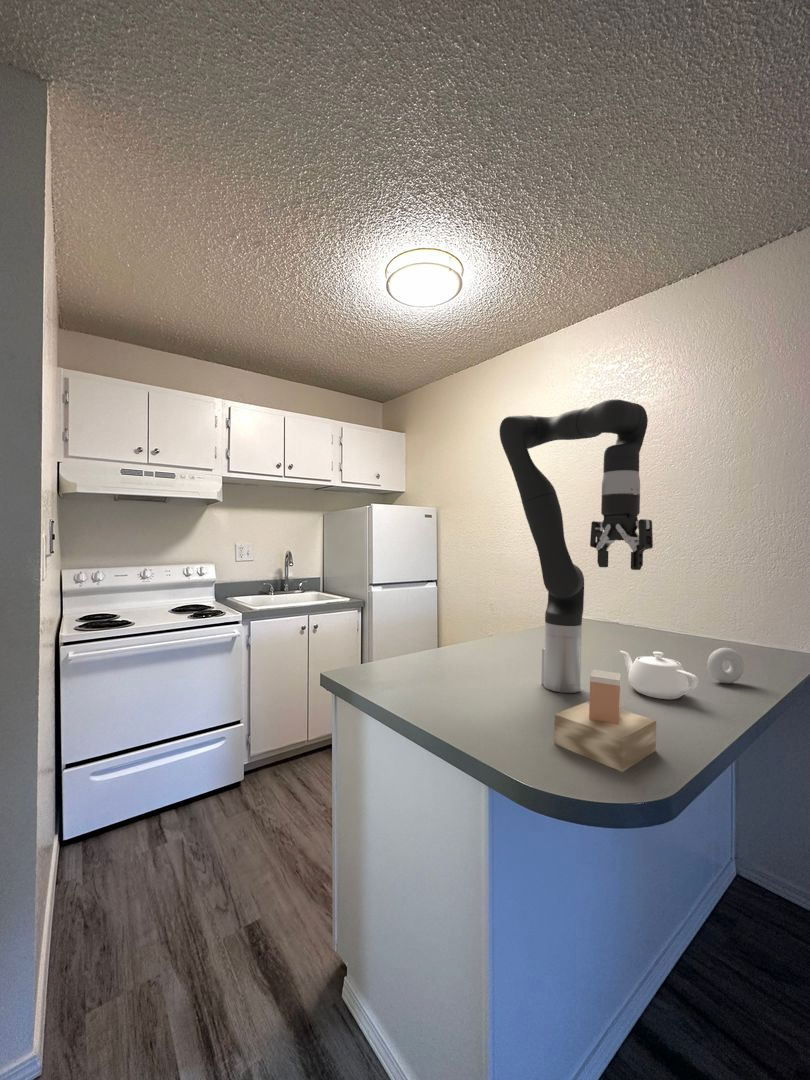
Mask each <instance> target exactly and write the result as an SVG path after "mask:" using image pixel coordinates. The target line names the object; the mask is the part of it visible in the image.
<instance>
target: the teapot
mask: <svg viewBox="0 0 810 1080" xmlns="http://www.w3.org/2000/svg"><path fill="white" fill-rule="evenodd" d="M619 652H620V653H621V654H622V655H623V658H624V660H625V661H624V663H625V669H626V671H627V674H628V678H627V679H628V683H629V684H630V685H631V686H632V688H634V690H636V692H638V693H639V694H642V695H644V696H646V697H651V698H656V699H661V700H662V699H663V700H676V699H679V698H681V697H682V696H684V695H685V694H686V693H690V692H692V691H694V690H695V689H696V688H697V687H698V685H699V678H698V676H696V675H695V674H694V673H691V672H688V671H685V670H684V668H683V666H682V663H680V662H679V661H677V660H674V659H672V658H671V659H670V658H667V657H663V656H664V652H662V651H652V653H653V656H652V655H642V656H637V657H636V658H635V660H634V661H633V660H632V658H631V655H630V654H629V653H628V652H627V651H624V650H619ZM688 677H689V678H690V679H691V684H689V679H688Z"/></svg>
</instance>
